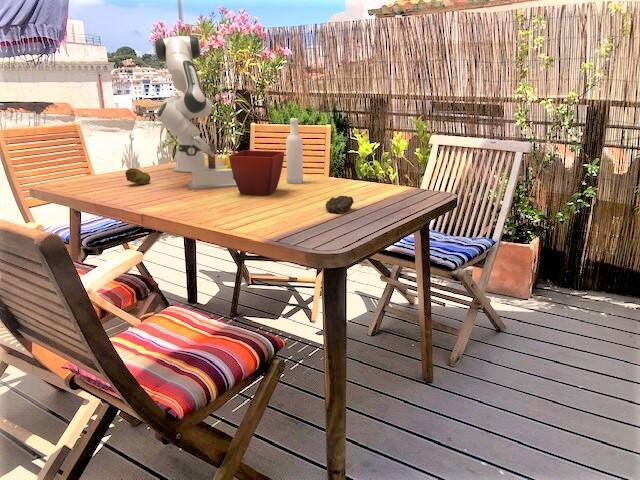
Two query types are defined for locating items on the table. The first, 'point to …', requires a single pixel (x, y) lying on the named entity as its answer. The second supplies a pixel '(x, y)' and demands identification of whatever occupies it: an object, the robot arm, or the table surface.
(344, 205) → the dark brown rock
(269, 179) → the plant pot
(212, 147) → the post
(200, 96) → the robot arm
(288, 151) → the bottle
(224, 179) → the ridge
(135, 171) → the potato
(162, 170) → the table surface
